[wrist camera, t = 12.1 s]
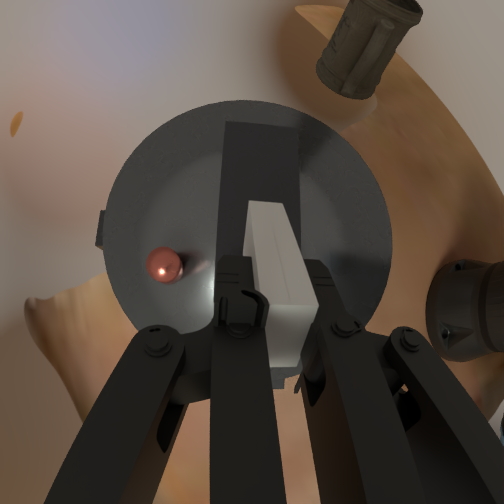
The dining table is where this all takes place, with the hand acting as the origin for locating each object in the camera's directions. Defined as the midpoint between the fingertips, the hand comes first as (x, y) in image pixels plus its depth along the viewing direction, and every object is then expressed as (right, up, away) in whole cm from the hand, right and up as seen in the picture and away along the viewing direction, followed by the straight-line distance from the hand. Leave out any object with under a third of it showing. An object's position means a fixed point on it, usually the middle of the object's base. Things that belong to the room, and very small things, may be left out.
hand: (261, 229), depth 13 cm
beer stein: (+15, +26, +27) cm, 41 cm away
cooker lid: (0, +1, +8) cm, 8 cm away
